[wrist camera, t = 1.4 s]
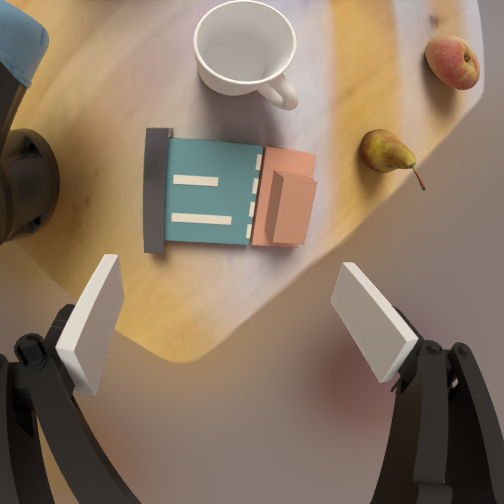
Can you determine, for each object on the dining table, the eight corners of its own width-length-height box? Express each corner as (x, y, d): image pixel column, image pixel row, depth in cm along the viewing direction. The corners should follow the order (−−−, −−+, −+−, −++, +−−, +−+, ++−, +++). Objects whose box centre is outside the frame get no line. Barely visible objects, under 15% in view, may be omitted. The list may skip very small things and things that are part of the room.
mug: (303, 91, 28) (343, 82, 19) (252, 133, 30) (273, 138, 21) (236, 22, 23) (250, -15, 14) (182, 64, 24) (171, 39, 15)
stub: (249, 238, 36) (258, 262, 30) (263, 145, 30) (276, 151, 25) (293, 241, 37) (308, 264, 31) (310, 153, 32) (332, 161, 26)
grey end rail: (148, 241, 34) (144, 252, 31) (152, 127, 27) (146, 128, 24) (166, 242, 34) (163, 253, 31) (172, 128, 28) (168, 128, 25)
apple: (443, 97, 29) (480, 101, 22) (409, 60, 27) (447, 56, 19) (456, 64, 26) (490, 64, 19) (424, 27, 24) (459, 21, 17)
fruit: (392, 150, 33) (453, 169, 22) (367, 175, 34) (424, 202, 24) (372, 119, 30) (435, 127, 20) (345, 144, 32) (403, 160, 21)
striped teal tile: (146, 232, 33) (143, 239, 31) (149, 137, 28) (145, 138, 26) (246, 238, 36) (248, 245, 34) (259, 145, 30) (263, 146, 29)
